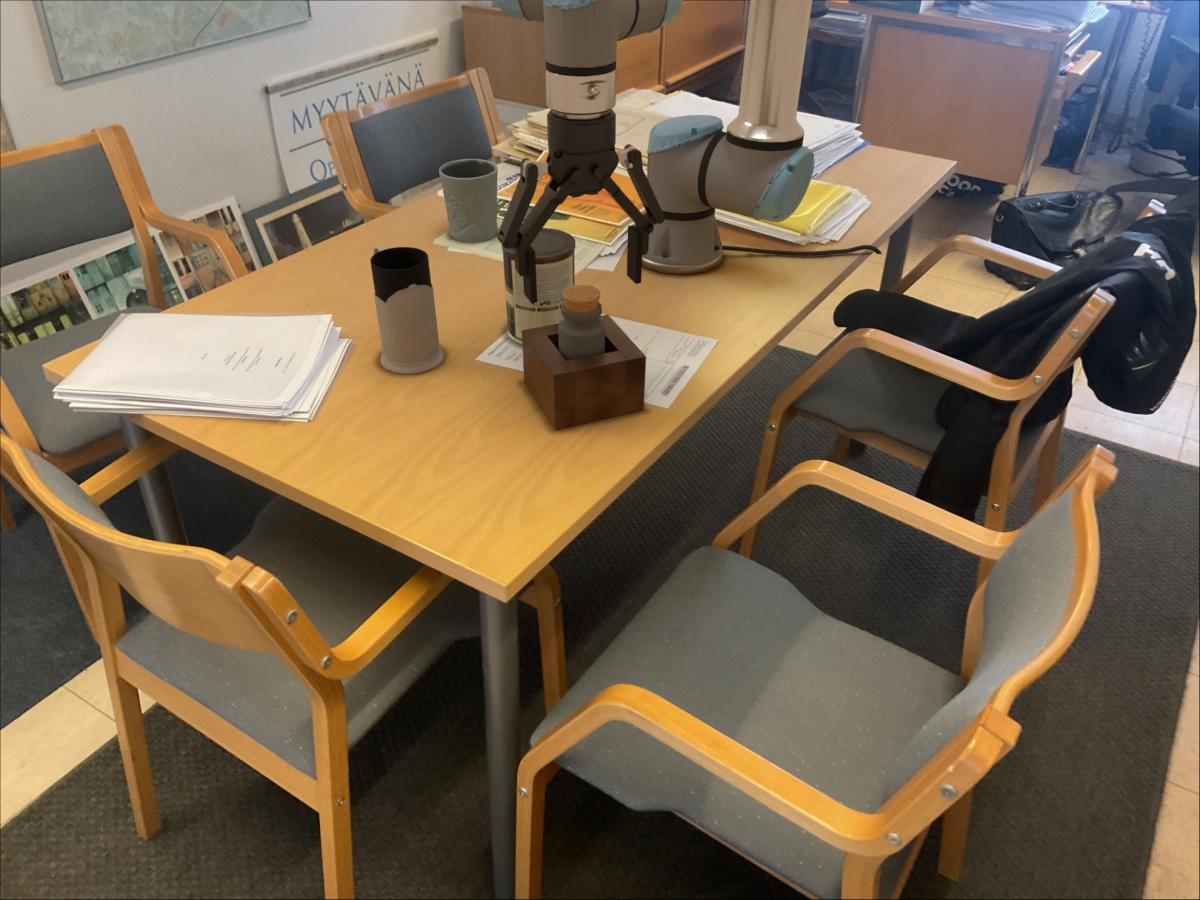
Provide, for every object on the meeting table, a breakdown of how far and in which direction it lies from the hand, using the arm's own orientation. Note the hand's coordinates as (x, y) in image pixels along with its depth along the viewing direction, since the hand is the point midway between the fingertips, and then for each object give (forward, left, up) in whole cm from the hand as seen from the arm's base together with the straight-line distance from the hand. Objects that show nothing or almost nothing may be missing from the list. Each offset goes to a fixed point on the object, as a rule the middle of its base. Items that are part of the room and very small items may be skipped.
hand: (583, 288), depth 110 cm
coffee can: (-1, -19, -16) cm, 25 cm away
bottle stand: (0, 0, -15) cm, 15 cm away
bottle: (0, 0, -16) cm, 16 cm away
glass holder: (+19, -21, -16) cm, 32 cm away
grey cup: (-2, -59, -16) cm, 61 cm away
